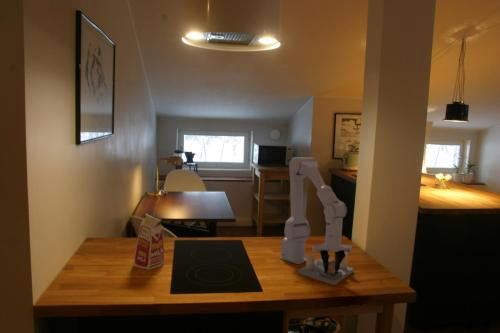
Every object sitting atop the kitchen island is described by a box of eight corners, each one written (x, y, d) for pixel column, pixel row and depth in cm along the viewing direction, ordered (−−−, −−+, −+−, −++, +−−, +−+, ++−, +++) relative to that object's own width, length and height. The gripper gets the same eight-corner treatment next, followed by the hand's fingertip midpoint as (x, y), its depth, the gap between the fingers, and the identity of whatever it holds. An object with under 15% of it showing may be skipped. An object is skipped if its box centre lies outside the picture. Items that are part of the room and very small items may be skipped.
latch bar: (341, 267, 141) (341, 263, 141) (339, 270, 139) (340, 265, 139) (318, 263, 145) (318, 258, 145) (316, 265, 143) (316, 260, 143)
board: (298, 273, 143) (299, 254, 142) (319, 261, 156) (320, 244, 155) (334, 285, 133) (335, 265, 132) (353, 272, 146) (354, 253, 146)
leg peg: (327, 277, 136) (328, 261, 135) (325, 274, 139) (326, 259, 138) (335, 277, 136) (336, 262, 135) (333, 274, 139) (334, 259, 138)
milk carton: (133, 265, 143) (133, 215, 140) (149, 258, 151) (150, 210, 149) (150, 271, 138) (151, 219, 136) (167, 263, 147) (168, 214, 144)
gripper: (317, 237, 131) (314, 274, 132) (356, 238, 132) (353, 274, 134) (312, 231, 138) (309, 266, 139) (349, 232, 139) (346, 266, 141)
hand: (330, 270), depth 137 cm, fingers open, 3 cm apart
